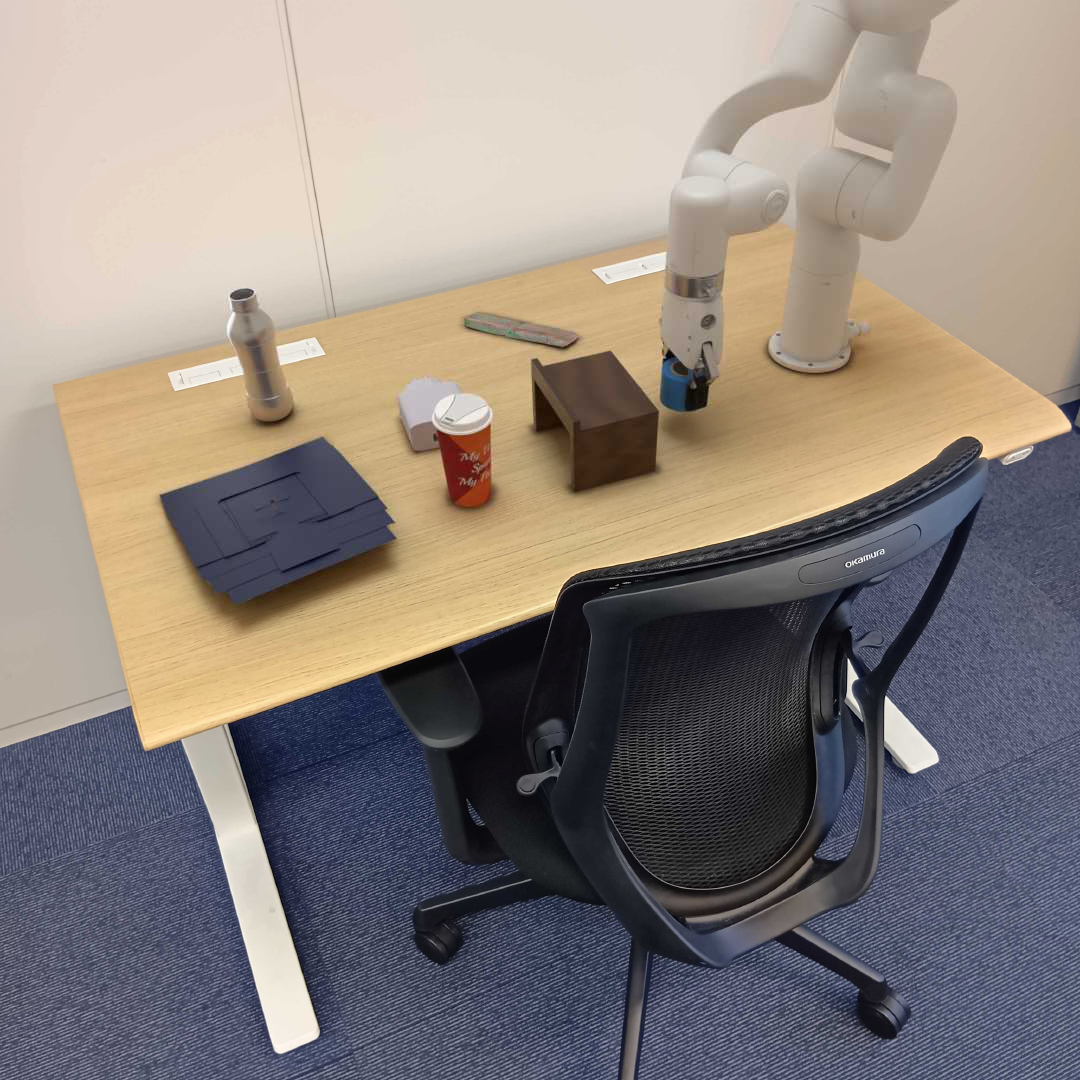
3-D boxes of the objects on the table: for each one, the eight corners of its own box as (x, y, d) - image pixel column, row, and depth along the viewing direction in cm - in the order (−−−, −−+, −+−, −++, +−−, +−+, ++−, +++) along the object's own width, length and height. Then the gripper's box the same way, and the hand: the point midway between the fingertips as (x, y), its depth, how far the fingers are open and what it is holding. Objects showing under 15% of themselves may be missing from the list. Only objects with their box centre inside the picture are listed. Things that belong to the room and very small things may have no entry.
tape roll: (693, 382, 142) (696, 351, 138) (714, 406, 137) (718, 375, 134) (651, 391, 140) (653, 360, 137) (672, 416, 136) (674, 385, 132)
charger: (450, 384, 152) (476, 439, 141) (392, 396, 150) (413, 453, 139) (447, 358, 149) (473, 412, 138) (387, 370, 147) (409, 426, 136)
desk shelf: (609, 408, 146) (610, 341, 138) (655, 471, 135) (659, 401, 127) (533, 427, 143) (530, 359, 135) (574, 492, 132) (573, 422, 124)
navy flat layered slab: (225, 629, 113) (216, 606, 111) (163, 512, 135) (155, 490, 133) (414, 550, 122) (409, 527, 120) (328, 452, 144) (323, 430, 142)
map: (472, 314, 168) (471, 309, 168) (581, 333, 161) (581, 328, 160) (457, 328, 165) (457, 323, 164) (568, 348, 157) (568, 343, 157)
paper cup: (477, 519, 128) (469, 433, 119) (430, 500, 131) (418, 414, 122) (510, 486, 133) (504, 400, 124) (464, 469, 136) (455, 384, 127)
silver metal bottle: (305, 412, 147) (276, 292, 134) (267, 433, 144) (234, 311, 130) (279, 396, 151) (249, 277, 137) (242, 416, 147) (207, 296, 134)
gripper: (753, 302, 121) (737, 422, 133) (690, 244, 133) (680, 358, 145) (698, 314, 119) (687, 434, 131) (639, 254, 131) (633, 369, 143)
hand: (683, 393), depth 138 cm, fingers closed on tape roll, 6 cm apart
